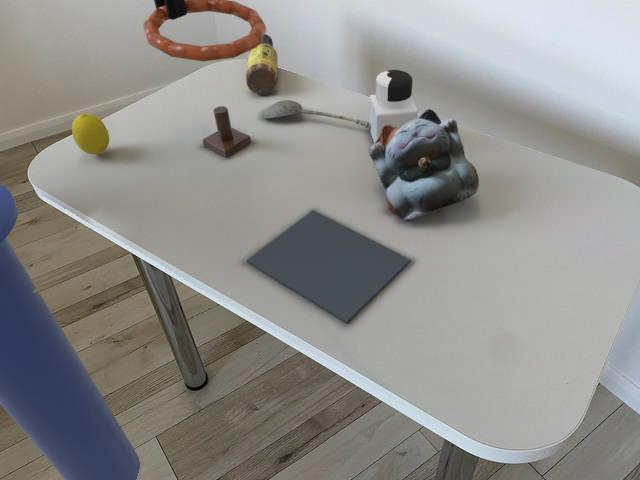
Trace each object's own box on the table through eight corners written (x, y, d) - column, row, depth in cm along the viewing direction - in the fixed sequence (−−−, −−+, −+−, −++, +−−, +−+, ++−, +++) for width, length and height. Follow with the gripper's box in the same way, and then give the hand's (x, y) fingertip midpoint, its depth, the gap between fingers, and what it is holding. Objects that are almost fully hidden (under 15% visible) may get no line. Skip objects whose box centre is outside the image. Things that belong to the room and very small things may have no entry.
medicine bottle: (407, 126, 103) (410, 63, 94) (416, 147, 97) (420, 82, 89) (369, 130, 102) (369, 67, 94) (376, 151, 97) (377, 86, 88)
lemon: (105, 142, 101) (90, 102, 95) (120, 154, 98) (105, 113, 92) (76, 154, 98) (59, 114, 92) (91, 167, 95) (73, 125, 89)
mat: (346, 323, 69) (346, 321, 69) (246, 262, 77) (246, 259, 77) (410, 262, 77) (410, 259, 76) (313, 212, 85) (313, 209, 85)
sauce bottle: (265, 62, 107) (266, 20, 121) (239, 77, 109) (242, 34, 122) (284, 88, 111) (282, 45, 125) (258, 103, 113) (259, 59, 127)
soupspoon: (274, 107, 110) (258, 125, 106) (271, 92, 108) (254, 109, 103) (378, 121, 103) (365, 140, 99) (377, 104, 100) (364, 124, 96)
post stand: (226, 158, 96) (218, 122, 91) (203, 146, 99) (195, 111, 94) (251, 143, 99) (245, 107, 95) (228, 132, 102) (222, 97, 97)
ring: (201, 76, 76) (199, 62, 75) (121, 32, 83) (118, 19, 81) (288, 35, 86) (288, 22, 85) (210, -1, 93) (209, -14, 91)
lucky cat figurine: (384, 228, 82) (357, 136, 77) (388, 207, 93) (365, 125, 88) (485, 203, 79) (464, 105, 74) (477, 184, 90) (458, 98, 85)
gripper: (82, -128, 76) (122, 11, 89) (154, -115, 69) (186, 34, 81) (128, -136, 80) (160, -2, 93) (200, -125, 73) (224, 19, 86)
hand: (172, 14), depth 87 cm, fingers closed on ring, 2 cm apart
